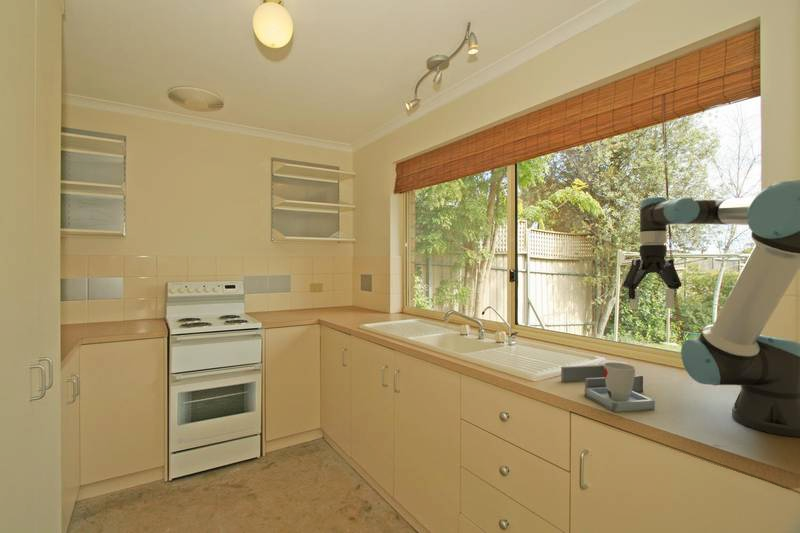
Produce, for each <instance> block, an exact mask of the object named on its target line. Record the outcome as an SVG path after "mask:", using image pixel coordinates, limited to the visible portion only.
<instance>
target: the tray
mask: <svg viewBox="0 0 800 533" xmlns="http://www.w3.org/2000/svg"><path fill="white" fill-rule="evenodd" d="M584 397H585V398H588V399H590V400H592V401H593V402H595V403H597V404H598V405H600V406H602V407H604V408H606V409H608V410H609V411H611V412H613V413H619V412H631V411H632V412H633V411H634V412H635V411H646V410H647V411H648V410H655V403H656V402H655V399H652V398H650V397H648V396H645V395H643V394H640V393H639V392H634V391H632V393H631V395H630V398H629V400H628V401H619V402H618V401H614V400H612V399H610V398H609V395H608V392H607V388H606V387H597V388H585V387H584Z"/></svg>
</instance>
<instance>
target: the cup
mask: <svg viewBox="0 0 800 533" xmlns="http://www.w3.org/2000/svg"><path fill="white" fill-rule="evenodd" d="M628 364H629V363H628ZM628 364H623V363H614V362H610V363H605V364H604V371H605V382H606V388H607V392H608V395H609V398H610V399H612V400H614V401H618V402H619V401H628V400H629V398H630V395H631V393H632V388H633V384H634V375H635V373H636V367H635V366H634V365H631V364H629V365H628Z"/></svg>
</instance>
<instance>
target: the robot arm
mask: <svg viewBox="0 0 800 533" xmlns="http://www.w3.org/2000/svg"><path fill="white" fill-rule="evenodd" d="M670 225H723V226H725V225H727V226H729V225H734V226H735V225H737V226H739V225H740V226H741V225H743V226H748V228H749V229H750V231H751V234H750V237H751V239H752V241H753V242H754V246H753V248H752V250H751V252H750V254H749V255H748V258H747V259H746V261H745V264H744V265H743V268H742V270H741V271H740V273H739V275H738V277H737V279H736V281H735V282H734V284H733V287H732V289H731V291H730V292H729V294H728V296H727V298H726V301H725V302H724V303H723V305H722V308H721V309H720V311H719V313H718V316H717V317H716V319H715V321H714V323H713V324H708V325H706V326H704V327H703V329H702V331H701V333H700V334H699V336H698V337H697V338H694V337H692V338H690V339H686V340H685V341H683V343H682V345H681V349H680V356H681V361H682V364H683V367H684V369H685V371H686V374H688V375H689V377H691V379H692V380H694V381H695V382H697V383H699V384H701V385H708V386H740V391H739V394H738V395H737V398H736V399H735V402H734V405H733V406H732V408H731V418H732V419H733V420H734V421H736V422H737V423H739V424H741V425H744V426H746V427H748V428H750V429H754V430H758V431H761V432H765V433H769V434H773V435H778V436H779V435H780V436H785V437H794V438H795V437H797V438H799V437H800V342H798V341H797V340H791V339H787V338H782V337H777V336H773V335H766V334H761V333H762V331H763V330H764V328H765V327H766V325H767V323H768V321H769V320H770V318H771V317H772V316H773V314H774V311H775V310H776V308H777V307H778V305H779V303H780V302H781V300H782V298H783V297H784V296H785V293H786V292H787V291H788V288H789V287H790V285H791V284H792V282H793V281H794V278H795V277H796V275H797V274H798V272H799V270H800V179H795V180H790V181H789V180H788V181H787V180H786V181H781V182H776V183H773V184H772V185H769V186H767V187H765V188H764V189H763V190H761V191H759V193H758V194H757V195H756V196H755V197H754V196H753V197H738V198H719V199H701V198H698V199H696V198H695V199H694V198H691V197H687V196H686V197H684V196H683V197H676V198H673V199H670V200H668V198H667V197H665V196H652V197H646V198H643V199H642V200H641V201H640V209H639V244H641V245H640V246H639V256H640V257H641V258H640V259H639V258H633V259H632V260H631V266H630V268H629V271H628V273H627V274H626V277H625V279H624V282H623V283H622V286H623V288H626V289H628V299H629V309H633V310H639V291H640V290H639V289H637V288H638V286H639V285H640V284H641V283H642V282H643V280H644V279H645V277H646V276H647V275H648V274H650V273H652V274H653V273H655V274H658V275H659V277H660V278H661V281H663V282H664V284H665V285H666V286H667V287H666V288H665V303H664V304H665V308H666V309H673V310H674V309H675V299H676V298H677V296H676V295H677V290H679V289H680V288H681V287H682V286H683V284H682V281H681V279H680V277H679V274H678V271H677V270H676V267H675V260H674V259H671V258H670V259H669V258H666V259H665V257H667V254H668V253H667V252H668V251H667V250H668V246H667V245H666V244H667V243H668V226H670Z"/></svg>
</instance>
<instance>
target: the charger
mask: <svg viewBox="0 0 800 533" xmlns="http://www.w3.org/2000/svg"><path fill="white" fill-rule="evenodd" d="M610 362H614V363H623V364H628V365H630V364H629V363H628V362H625V361H618V360H613V359H612V360H611V359H603V360H601V361H600V363H599V364H598V365H604V364H605V363H610Z"/></svg>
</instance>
